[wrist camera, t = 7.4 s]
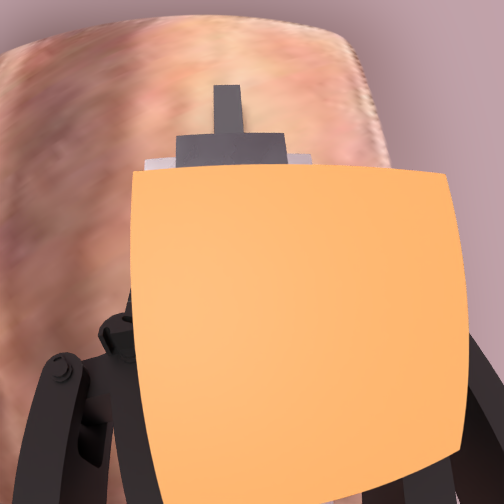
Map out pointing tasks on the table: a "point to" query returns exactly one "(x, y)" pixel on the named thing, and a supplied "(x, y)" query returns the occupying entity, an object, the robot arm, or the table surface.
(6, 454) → the table surface
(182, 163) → the base
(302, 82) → the table surface
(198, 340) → the handle
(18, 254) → the table surface
